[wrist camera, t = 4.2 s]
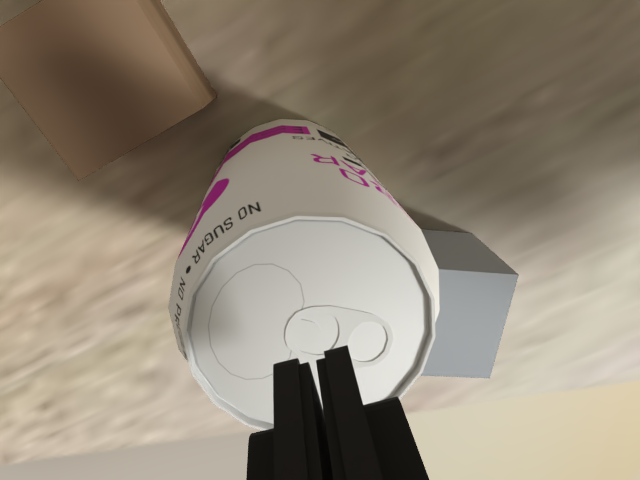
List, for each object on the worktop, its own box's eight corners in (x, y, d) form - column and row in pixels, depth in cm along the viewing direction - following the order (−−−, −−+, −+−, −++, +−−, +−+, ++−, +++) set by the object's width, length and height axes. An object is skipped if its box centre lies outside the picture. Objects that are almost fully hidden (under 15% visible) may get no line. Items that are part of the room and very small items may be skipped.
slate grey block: (471, 232, 30) (518, 274, 24) (450, 320, 32) (489, 378, 26) (373, 224, 29) (399, 266, 23) (358, 315, 31) (378, 373, 25)
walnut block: (147, -20, 23) (109, -43, 18) (217, 96, 26) (203, 108, 20) (42, 45, 24) (-27, 43, 18) (119, 153, 26) (78, 180, 20)
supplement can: (204, 246, 28) (142, 436, 14) (230, 100, 26) (184, 158, 12) (341, 271, 30) (407, 467, 16) (379, 135, 27) (499, 225, 13)
